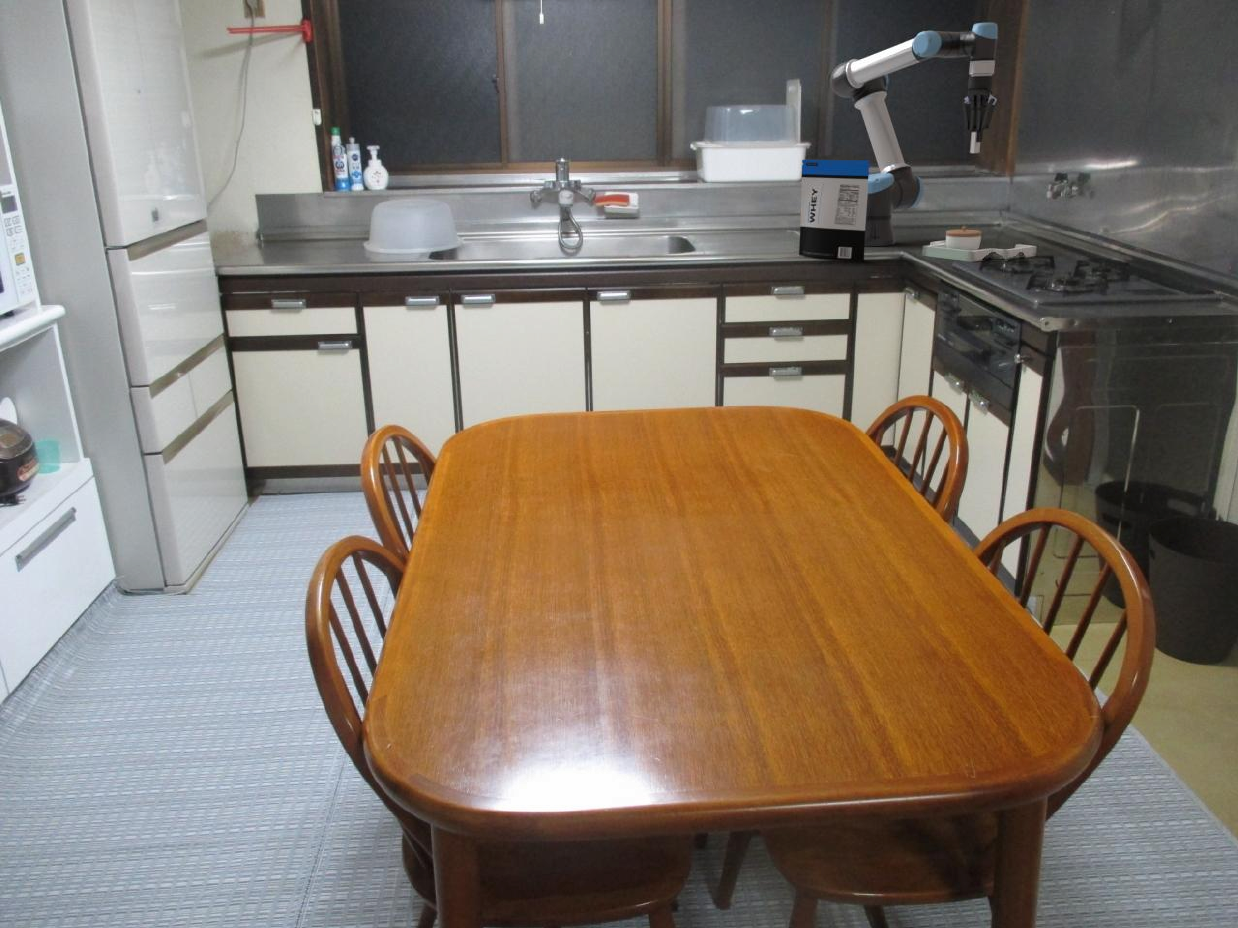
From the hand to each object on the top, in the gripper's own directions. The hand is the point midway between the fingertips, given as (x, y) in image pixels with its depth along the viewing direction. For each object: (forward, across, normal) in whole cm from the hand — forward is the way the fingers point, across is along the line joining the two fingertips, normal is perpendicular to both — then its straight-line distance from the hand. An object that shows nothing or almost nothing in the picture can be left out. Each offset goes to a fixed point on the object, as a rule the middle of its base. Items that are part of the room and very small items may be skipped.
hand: (974, 153), depth 333 cm
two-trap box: (+30, -13, +14) cm, 36 cm away
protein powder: (+31, +13, +50) cm, 60 cm away
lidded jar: (+31, -13, +18) cm, 38 cm away
